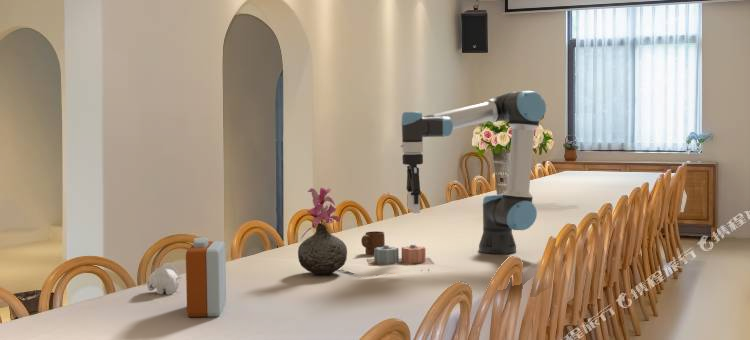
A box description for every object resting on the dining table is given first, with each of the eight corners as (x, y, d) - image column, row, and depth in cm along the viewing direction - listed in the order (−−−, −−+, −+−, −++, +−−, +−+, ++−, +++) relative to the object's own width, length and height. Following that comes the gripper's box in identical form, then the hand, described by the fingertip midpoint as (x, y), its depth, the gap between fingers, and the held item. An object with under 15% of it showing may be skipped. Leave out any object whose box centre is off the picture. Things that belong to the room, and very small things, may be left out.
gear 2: (423, 259, 299) (423, 245, 298) (426, 262, 290) (426, 249, 290) (400, 259, 298) (400, 246, 298) (403, 263, 289) (403, 249, 289)
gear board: (429, 260, 302) (429, 242, 301) (434, 267, 288) (434, 247, 287) (366, 262, 300) (366, 243, 299) (369, 268, 286) (368, 248, 285)
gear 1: (391, 259, 299) (391, 245, 299) (402, 262, 291) (402, 249, 291) (370, 261, 295) (370, 247, 295) (381, 264, 287) (381, 250, 287)
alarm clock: (196, 303, 232) (194, 233, 231) (226, 302, 233) (225, 233, 231) (186, 318, 213) (185, 243, 212) (219, 317, 214) (218, 242, 213)
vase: (353, 271, 281) (352, 187, 279) (335, 280, 264) (334, 191, 263) (310, 269, 286) (309, 186, 285) (289, 277, 270) (288, 190, 268)
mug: (370, 260, 305) (370, 235, 304) (354, 258, 309) (354, 234, 309) (388, 255, 314) (388, 232, 314) (373, 254, 319) (373, 230, 318)
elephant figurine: (148, 289, 252) (148, 262, 252) (186, 289, 252) (185, 261, 252) (139, 296, 243) (138, 267, 242) (177, 296, 243) (177, 267, 242)
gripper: (398, 152, 304) (399, 207, 305) (406, 155, 279) (407, 215, 280) (418, 152, 305) (419, 207, 306) (427, 154, 280) (428, 214, 281)
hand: (413, 211), depth 293 cm, fingers open, 13 cm apart
